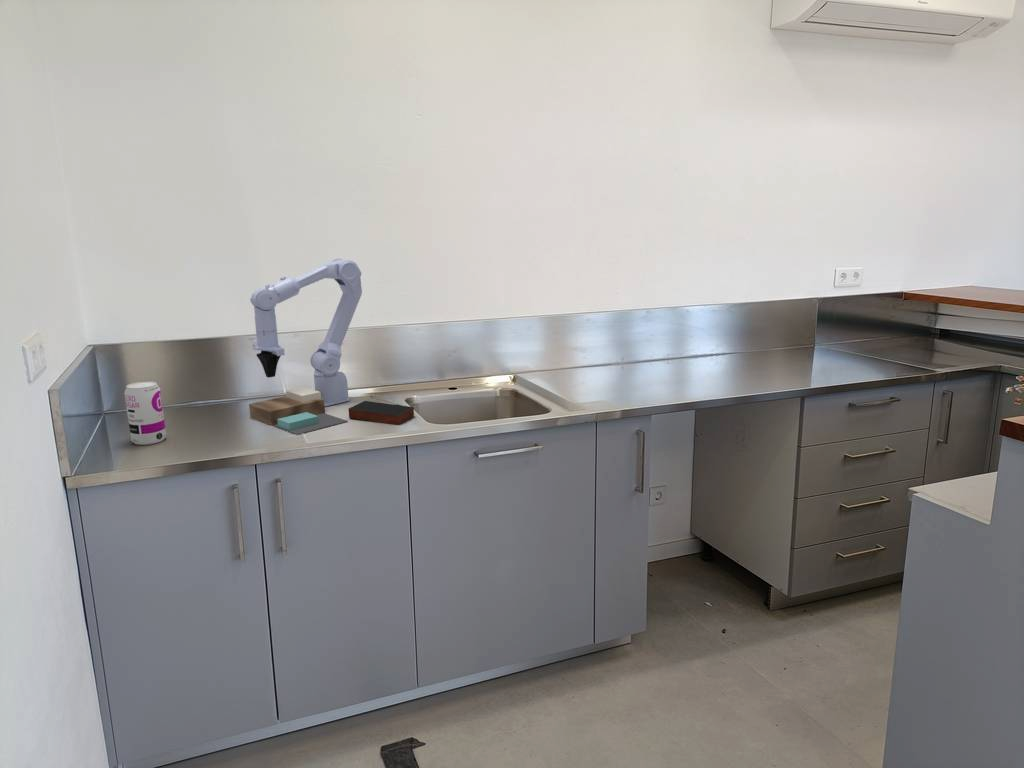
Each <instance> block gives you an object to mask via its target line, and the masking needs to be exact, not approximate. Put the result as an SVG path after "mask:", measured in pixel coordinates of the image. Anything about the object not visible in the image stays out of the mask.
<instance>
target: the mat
mask: <svg viewBox="0 0 1024 768" xmlns="http://www.w3.org/2000/svg"><path fill="white" fill-rule="evenodd" d="M316 416H318V421H319V423H317V424H313V425H309V426H305V427H301V428H297V429H293V430H287V429H284V428H282V427H279V426H278V424H276V425H272V427H274V428H277V429H280V430H283V431H284V430H285V432H287V431H288V433H290V432H291V433H290V434H292V433H294V434H293V435H295V434H300V435H302V434H301V433H304V434H307V433H311V432H315V431H318V430H319V431H320V430H322V429H326V428H330V427H335V426H337V425H342V424H345V423H348V422H349V421H348V420H347V419H343V418H341V417H338V416H333V415H332V414H328V413H326V412H325V413H321V414H317V415H316Z"/></svg>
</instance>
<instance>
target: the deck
mask: <svg viewBox="0 0 1024 768" xmlns="http://www.w3.org/2000/svg"><path fill="white" fill-rule="evenodd" d="M325 407H326V406H325ZM325 407H324V399H317V400H312V401H308V402H304V403H302V402H299V401H296V400H293V399H290V398H287V397H286V395H285V396H280V397H275V398H270V399H266V400H260V401H256V402H252V403H248V409H249V417H250V418H251V419H252V420H256V421H258V422H262V423H264V424H266V425H270V426H272V427H273V425H277V424H278V421H277V419H280V418H284V417H288V416H292V415H297V414H301V413H305V412H307V413H310V414H313V415H318V414H322V413H325V414H326V411H325V410H326V408H325Z"/></svg>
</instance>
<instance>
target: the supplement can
mask: <svg viewBox="0 0 1024 768" xmlns="http://www.w3.org/2000/svg"><path fill="white" fill-rule="evenodd" d="M161 390H162V389H161V387H160V386H159V385H158V383H157V382H156V381H139V382H138V381H137V382H133V383H129V384H127V385H126V386H125V390H124V400H125V407H126V413H127V420H128V422H127V423H128V428H129V434H130V440H131V442H132V443H134V444H135V445H138V446H148V445H155V444H158V443H160V442H163V441H164V440H165V438H166V437H167V430H166V422H165V414H164V407H163V401H162V398H163V397H162V391H161Z"/></svg>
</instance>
